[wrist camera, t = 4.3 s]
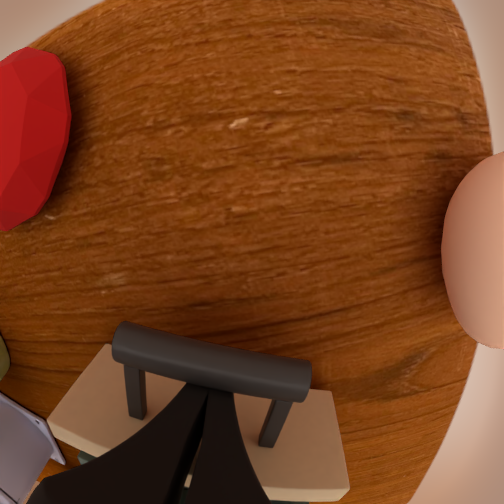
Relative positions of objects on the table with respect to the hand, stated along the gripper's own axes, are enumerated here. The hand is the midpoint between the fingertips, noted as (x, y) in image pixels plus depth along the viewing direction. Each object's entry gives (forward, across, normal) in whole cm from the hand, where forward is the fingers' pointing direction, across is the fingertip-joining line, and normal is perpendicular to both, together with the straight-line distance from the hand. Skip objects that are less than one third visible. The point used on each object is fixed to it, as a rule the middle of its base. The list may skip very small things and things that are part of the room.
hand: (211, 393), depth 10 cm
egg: (+1, -9, -11) cm, 15 cm away
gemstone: (+4, +12, -8) cm, 15 cm away
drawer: (+3, 0, +6) cm, 7 cm away
